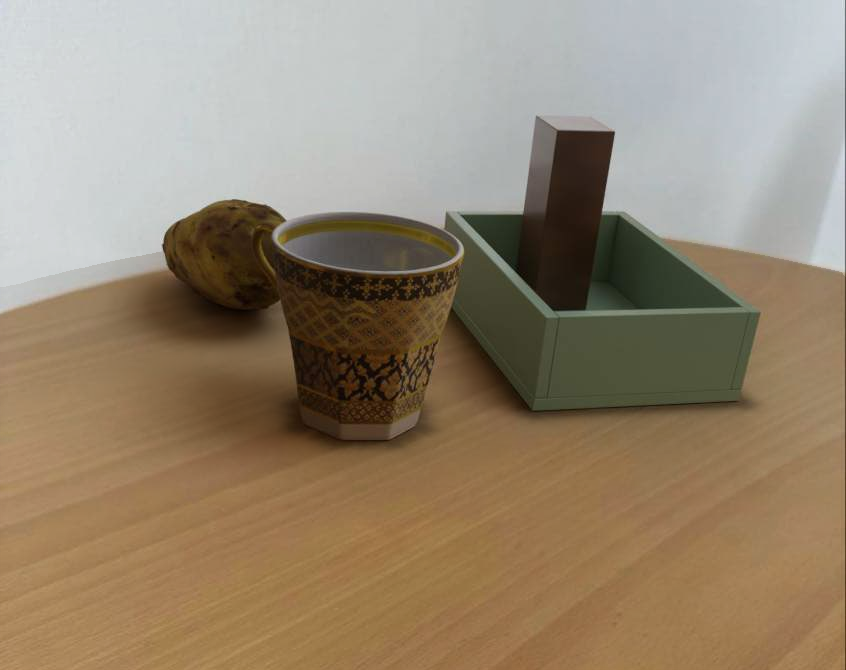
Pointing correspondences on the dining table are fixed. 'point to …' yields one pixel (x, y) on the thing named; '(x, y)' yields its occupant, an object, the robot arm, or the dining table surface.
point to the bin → (604, 320)
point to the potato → (223, 253)
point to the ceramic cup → (361, 314)
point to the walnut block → (564, 208)
